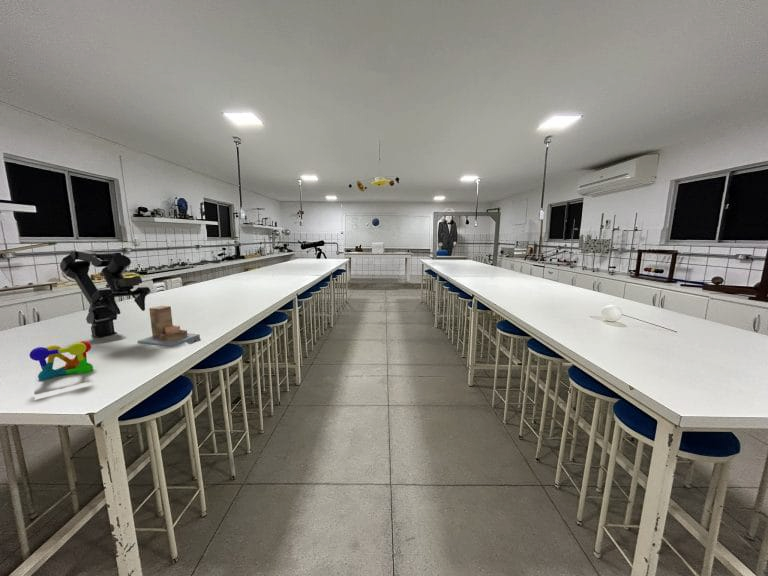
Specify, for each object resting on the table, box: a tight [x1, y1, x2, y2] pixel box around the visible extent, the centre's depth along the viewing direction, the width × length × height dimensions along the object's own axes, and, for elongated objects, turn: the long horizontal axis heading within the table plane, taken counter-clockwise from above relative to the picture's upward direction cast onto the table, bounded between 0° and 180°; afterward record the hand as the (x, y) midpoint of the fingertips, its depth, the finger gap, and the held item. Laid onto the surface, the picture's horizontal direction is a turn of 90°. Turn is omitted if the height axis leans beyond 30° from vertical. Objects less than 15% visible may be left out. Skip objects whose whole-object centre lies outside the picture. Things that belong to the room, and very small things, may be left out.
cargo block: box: [165, 324, 181, 335], centre depth 123 cm, size 4×4×4 cm
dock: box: [137, 332, 201, 347], centre depth 124 cm, size 17×13×2 cm
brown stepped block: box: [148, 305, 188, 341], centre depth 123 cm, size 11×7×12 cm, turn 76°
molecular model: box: [29, 340, 94, 381], centre depth 92 cm, size 15×12×15 cm
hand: (132, 312), depth 122 cm, fingers open, 9 cm apart
